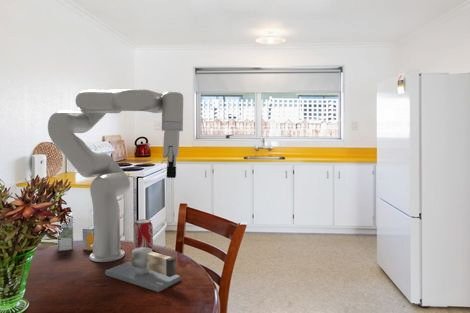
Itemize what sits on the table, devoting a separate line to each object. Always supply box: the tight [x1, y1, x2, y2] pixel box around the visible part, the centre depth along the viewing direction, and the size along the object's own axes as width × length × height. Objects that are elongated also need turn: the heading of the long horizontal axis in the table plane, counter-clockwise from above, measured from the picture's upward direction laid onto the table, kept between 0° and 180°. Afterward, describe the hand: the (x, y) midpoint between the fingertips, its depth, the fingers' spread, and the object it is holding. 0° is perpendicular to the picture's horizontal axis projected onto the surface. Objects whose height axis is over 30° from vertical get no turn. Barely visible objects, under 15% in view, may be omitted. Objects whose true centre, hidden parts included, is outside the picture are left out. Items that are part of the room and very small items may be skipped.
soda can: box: [134, 218, 154, 250], centre depth 142 cm, size 7×7×12 cm
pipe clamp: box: [87, 234, 94, 251], centre depth 143 cm, size 12×4×6 cm, turn 90°
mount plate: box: [104, 261, 182, 293], centre depth 115 cm, size 24×10×4 cm, turn 58°
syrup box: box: [57, 212, 74, 252], centre depth 143 cm, size 6×6×14 cm
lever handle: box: [131, 247, 177, 277], centre depth 111 cm, size 17×6×5 cm, turn 55°
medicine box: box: [82, 224, 94, 251], centre depth 145 cm, size 8×4×9 cm, turn 166°
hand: (171, 177), depth 128 cm, fingers closed
